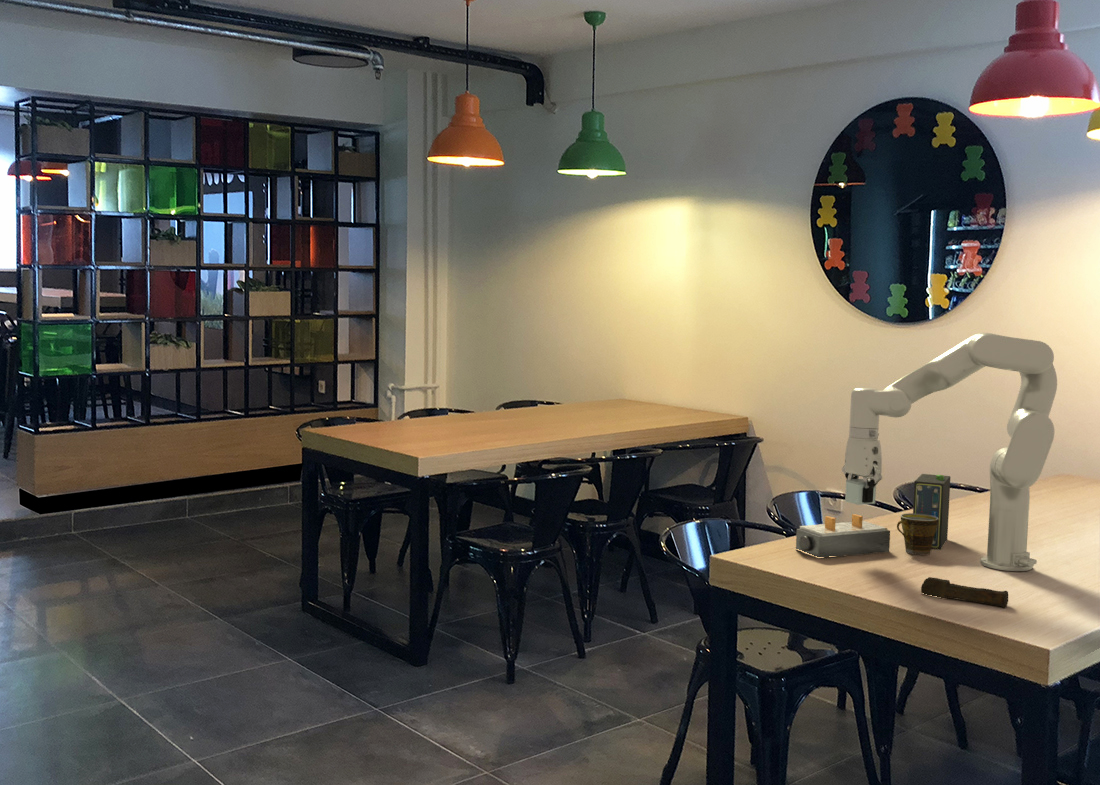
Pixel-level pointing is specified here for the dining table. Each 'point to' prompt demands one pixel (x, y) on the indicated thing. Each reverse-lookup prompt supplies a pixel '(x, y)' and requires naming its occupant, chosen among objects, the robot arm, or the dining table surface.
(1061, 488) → the dining table surface
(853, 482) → the pale grey cube
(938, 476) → the dark grey box
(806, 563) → the dining table surface
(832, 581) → the dining table surface
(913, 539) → the ceramic cup
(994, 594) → the dark brown flashlight
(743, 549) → the dining table surface
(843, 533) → the grey toaster
